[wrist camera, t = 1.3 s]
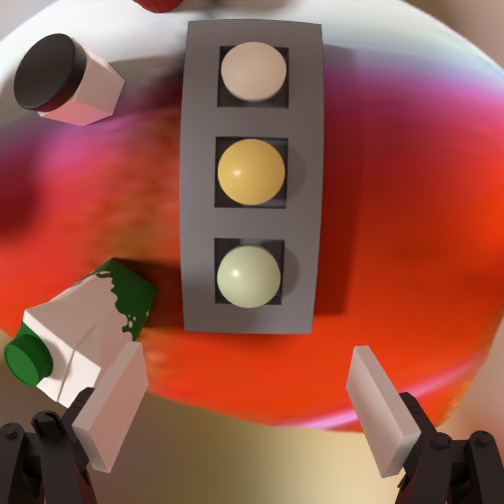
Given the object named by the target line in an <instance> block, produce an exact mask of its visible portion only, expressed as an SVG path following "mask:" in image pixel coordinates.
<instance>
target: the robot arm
mask: <svg viewBox="0 0 504 504" xmlns="http://www.w3.org/2000/svg"><path fill="white" fill-rule="evenodd" d="M148 384H149V383H148V378H147V373H146V367H145V362H144V356H143V350H142V344H141V342H133V341H128V342H127V343H126V344H125V346H124V347H123V349H122V350H121V352H120V353H119V355H118V356H117V357H116V359H115V360H114V362H113V363H112V365H111V366H110V368H109V369H108V371H107V372H106V374H105V375H104V377H103V378H102V380H101V381H100V383H99V384H98V386H97V387H96V388H92V387H86V388H85V389H83V390H82V391H80V392H79V393H78V395H77V396H76V398H75V399H74V401H73V402H72V403H71V406H69V408H68V409H67V410H66V412H65V413H64V415H63V416H62V418H60V416H59V415H58V414H57V413H56V412H53V411H42V412H39V413H38V414H36V415H35V416H34V417H33V418H32V421H31V424H32V426H33V428H34V430H35V432H36V433H28V432H25V431H24V429H23V428H22V426H21V425H19V424H17V423H8V424H5V425H4V426H2V427H1V428H0V504H44V499H45V498H44V497H46V503H47V504H98V503H97V500H96V497H95V493H94V490H93V487H92V484H91V480H90V476H89V473H88V471H87V469H86V466H87V464H88V462H90V463H91V465H92V467H93V469H96V470H99V471H103V472H107V473H110V471H111V469H112V466H113V464H114V461H115V459H116V457H117V454H118V452H119V449H120V447H121V445H122V443H123V440H124V438H125V436H126V433H127V431H128V429H129V427H130V424H131V422H132V420H133V417H134V415H135V413H136V411H137V409H138V406H139V404H140V402H141V400H142V397H143V395H144V393H145V391H146V389H147V386H148ZM346 390H347V392H348V394H349V397H350V399H351V402H352V404H353V407H354V409H355V411H356V414H357V416H358V419H359V421H360V424H361V426H362V429H363V431H364V434H365V436H366V438H367V441H368V444H369V446H370V449H371V451H372V454H373V456H374V459H375V462H376V464H377V466H378V469H379V472H380V475H381V477H382V478H385V477H389V476H393V475H397V474H399V472H400V470H401V469H402V467H404V469H405V472H406V474H405V475H404V477H403V479H402V480H401V482H400V484H399V485H398V488H400V490H399V493H398V496H397V499H396V501H395V504H446V501H447V504H504V468H503V464H502V461H501V458H500V454H499V451H498V449H497V445H496V442H495V439H494V438H493V436H492V435H491V434H490V433H488V432H485V431H476V432H474V433H472V434H471V436H470V438H469V439H468V440H452V438H451V437H450V436H448V435H447V434H445V433H441V432H437V431H436V429H435V428H434V426H433V424H432V423H431V421H430V420H429V418H428V417H427V415H426V414H425V412H423V409H422V408H421V406H420V404H419V403H418V401H417V400H416V398H415V397H413V396H412V395H411V394H409V393H408V392H404V393H398V392H397V391H396V389H395V388H394V386H393V384H392V383H391V381H390V379H389V378H388V376H387V375H386V373H385V372H384V370H383V368H382V367H381V365H380V364H379V362H378V361H377V359H376V357H375V356H374V354H373V353H372V351H371V350H370V348H369V347H368V346H354V351H353V356H352V361H351V366H350V371H349V375H348V380H347V384H346Z"/></svg>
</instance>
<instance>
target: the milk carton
mask: <svg viewBox="0 0 504 504" xmlns="http://www.w3.org/2000/svg"><path fill="white" fill-rule="evenodd" d="M157 290H158V288H157V287H156V286H154V285H152V284H151V283H149V282H148V281H146V280H145V279H143V278H142V277H140V276H139V275H137V274H136V273H134V272H133V271H131V270H130V269H129V268H127V267H126V266H124V265H123V264H121V263H120V262H118V261H117V260H116V259H114V258H111V259H110V260H109V261H107V262H106V263H104V264H103V265H101V266H100V267H98V268H97V269H96V270H94V271H93V272H91V273H90V274H89V275H87V276H86V277H84V278H83V279H81V280H80V281H78V282H77V283H75V284H74V285H72V286H71V287H69V288H68V289H66V290H65V291H64V292H62V293H61V294H59V295H58V296H56V297H55V298H53V299H52V300H50V301H49V302H47V303H44V304H41V305H37V306H34V307H31V308H28V309H25V312H24V317H23V320H22V321H21V326H20V329H19V331H18V332H17V334H16V338H15V339H14V340H13V341H11V342H10V343H9V344H8V345H7V346H5V348H4V359H5V362H6V364H7V366H8V368H9V370H10V371H11V373H12V374H13V375H14V376H15V378H16V379H18V380H19V381H20V382H21V383H23V384H25V385H27V386H30V387H34V386H37V387H38V388H40V389H41V390H42V391H44V392H45V393H46V394H47V395H48V396H49V397H50V398H52V399H53V400H55V401H56V402H57V401H58V402H60V403H61V404H62V405H64V406H65V407H67V408H69V406H71V403H72V402H73V401H74V399H75V398H76V396H77V395H78V393H79V392H80V391H82V390H83V389H85V388H86V387H92V388H96V387H97V386H98V384H99V383H100V381H101V380H102V378H103V377H104V375H105V374H106V372H107V371H108V369H109V368H110V366H111V365H112V363H113V362H114V360H115V359H116V357H117V356H118V355H119V353H120V352H121V350H122V349H123V347H124V346H125V344H126V343H127V342H128V341H133V342H135V340H136V339H137V337H138V335H139V333H140V331H141V329H142V327H143V325H144V324H145V322H146V319H147V317H148V314H149V312H150V309H151V306H152V303H153V301H154V298H155V295H156V293H157Z"/></svg>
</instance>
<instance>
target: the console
mask: <svg viewBox="0 0 504 504" xmlns="http://www.w3.org/2000/svg"><path fill="white" fill-rule="evenodd" d="M247 42H260V43H264V44H267V45H269V46H271V47H273V48H275V49H276V50H277V51H278V52H279V53H280V54H281V55H282V57H283V59H284V61H285V64H286V76H285V79H284V82H283V85H282V87H281V89H280V90H279V91H278V93H277V94H276V95H274V96H273V97H272V98H270V99H268V100H266V101H262V102H255V103H252V102H245V101H242V100H240V99H237V98H236V97H234V96H233V95H232V94H231V93H230V92H229V91H228V90H227V88H226V86H225V84H224V81H223V77H222V73H221V67H222V62H223V60H224V58H225V56H226V55H227V53H228V52H229V51H230V50H231V49H233V48H234V47H236V46H238V45H240V44H243V43H247ZM246 139H257V140H261V141H264V142H266V143H268V144H270V145H271V146H273V147H274V148H275V149H276V150H277V152H278V153H279V154H280V156H281V158H282V160H283V163H284V168H285V176H284V181H283V184H282V186H281V188H280V190H279V191H278V192H277V194H276V195H275V196H274V197H272V198H271V199H270V200H268V201H266V202H264V203H261V204H256V205H246V204H242V203H239V202H237V201H235V200H233V199H232V198H230V197H229V196H228V195H227V194H226V193H225V192H224V190H223V189H222V187H221V185H220V182H219V178H218V165H219V162H220V159H221V157H222V155H223V154H224V152H225V151H226V150H227V149H228V148H229V147H230V146H231V145H233V144H235V143H236V142H239V141H242V140H246ZM323 157H324V75H323V46H322V27H321V24H313V23H304V22H294V21H281V20H261V19H220V20H200V21H189V23H188V32H187V42H186V52H185V64H184V77H183V91H182V109H181V132H180V171H179V219H180V259H181V283H182V301H183V317H184V330H185V331H192V332H212V333H241V334H311V330H312V321H313V311H314V302H315V291H316V281H317V269H318V256H319V243H320V227H321V210H322V188H323ZM242 244H256V245H259V246H262V247H264V248H265V249H267V250H268V251H269V252H270V253H271V254H272V255H273V256H274V258H275V259H276V262H277V264H278V268H279V271H280V285H279V288H278V291H277V292H276V294H275V295H274V297H273V298H272V299H271V300H270V301H268V302H267V303H265V304H264V305H261V306H258V307H254V308H244V307H239V306H237V305H234V304H233V303H231V302H229V301H228V300H227V299H226V298H225V297H224V296H223V294H222V293H221V291H220V289H219V286H218V280H217V276H218V270H219V267H220V264H221V261H222V259H223V258H224V256H225V255H226V254H227V253H228V252H229V251H230V250H231V249H233V248H234V247H236V246H239V245H242Z"/></svg>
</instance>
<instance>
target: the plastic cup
mask: <svg viewBox="0 0 504 504" xmlns="http://www.w3.org/2000/svg"><path fill="white" fill-rule="evenodd" d="M133 1H134V2H136V3H138V4H139V5H141V6H142V7H143V8H144V9H146V10H148V11H151V12H153V13H162V12H166V11H170V10H171V9H173V8H175V7H177V6H178V5H179V4H180V3H181V2H182V1H183V0H133Z"/></svg>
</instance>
